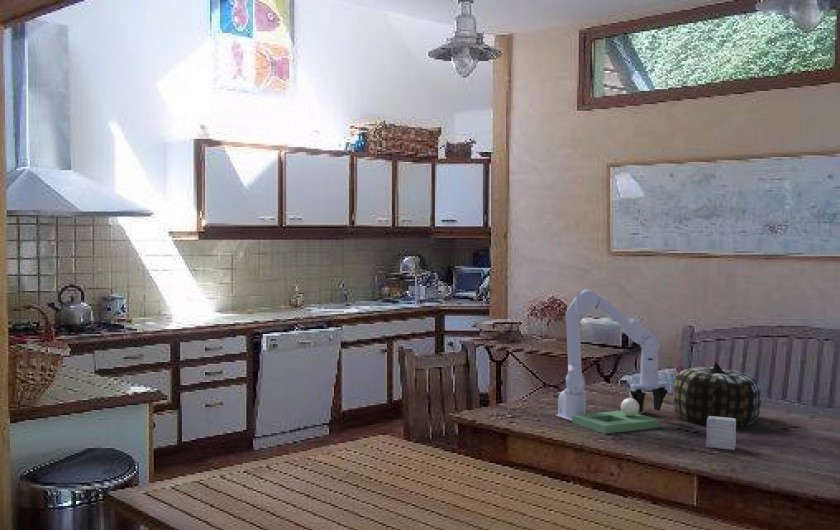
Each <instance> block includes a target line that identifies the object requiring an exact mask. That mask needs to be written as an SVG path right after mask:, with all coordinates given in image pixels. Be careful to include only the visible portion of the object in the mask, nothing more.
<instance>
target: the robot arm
mask: <svg viewBox="0 0 840 530" xmlns="http://www.w3.org/2000/svg"><path fill="white" fill-rule="evenodd" d="M593 309H595V310H597V311H601V312H602V311H603V312H605V313H606V314H607V315H608V316H609V317H611V318H612V319H613V320H615V321H616V322H617V323H618V324H619V325H621V326H622V327H621V328H622V332H623V333H624V334H625V335H627V337H629V338H630V339H631V340H632V341H633V343H634V342H635V344H637V345H639V346H640V348H641V356H640V375H639V376H640V379H639V382H638V383H632V384H629V392H630V393H631V395H632V397H633V399H635V400H636V401H637V402H638V404H639V411H638V412H640V413H639V414H642V413H641V412H642V411H643V401H644V397H645V398H646V392H645V391H647V390H649V391H650V390H651V391H652V397H653V410H654V411H658V412H660V411H661V409H662V403H663V401H664V399H665V397H666V395H667V394H668V382H665V381H659V350H660V348H661V343H660V341H659V339H658V338H657V337H656V336H655V334H653V333H652V331H651V330H650V329H649V330H648V329H647V328H646V327H644V326H643V325H642V324H641V323H642V322H641V321H640V320H639V319H637V320H636V319H635V318H628V317H626V315H624V314H623V313H622V312H621V311H620V310H619V309H618V308H617V307H615V305H614V304H613V303H611V302H610V301H609V300H608V299H606V298H605V297H604V296H602V295H600V294H598V293H596V292H595V291H594V290H593V289H591V288H585V289H582V290H581V291H580V292H579V293H577V294H576V295H575V297H574V298H573V300H572V302H571V303H570V305H569V306H568V308H567V310H566V312H565V321H566V342H567V343H566V344H567V349H566V350H567V370H568V371H567V374H566V376H565V386H566V388H564V390H562V391H560V393H559V395H558V402H557V403H558V405H557V413H556V414H555V416H556V417H558V418H562V419H565V420H568V421H570V422H572V415H581V414H586V407H587V406H586V402H587V391H586V390H585V387H586V380H585V376H584V375H583V373H582V372H583V370H582V351H581V350H582V348H581V345H582V344H581V323H580V320H581V319H580V318H581V317H583V315H585V314H586V313H587V312H589V311H591V310H593ZM641 390H643V391H644V392H645V393H644V392H642V391H641Z"/></svg>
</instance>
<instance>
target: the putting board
mask: <svg viewBox="0 0 840 530" xmlns="http://www.w3.org/2000/svg"><path fill="white" fill-rule="evenodd" d="M571 423H572V424H574V425H577V426H579V427H580V426H581V427H583V428H587V429H589V430H592V431H595V432H599V433H602V434H605V435H607V434H616V433H615V432H617V433H625V432H631V431H632V432H633V431H640V430H641V431H642V430H649V429H650V430H651V429H657V428H660V419H658V418H653V417H650V416H646V415H643V414H641V413H637V414H636V415H634V416H626V415H625V414H624V413H623V412H622V411H621V410H613V411H603V412H594V413H593V412H592V413H585V414H581V415H572V421H571Z"/></svg>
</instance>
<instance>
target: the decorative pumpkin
mask: <svg viewBox="0 0 840 530" xmlns="http://www.w3.org/2000/svg"><path fill="white" fill-rule="evenodd" d="M673 386H674V387H673V389H674V391H673V407H674V408H673V410H674V411H673V416H674V418H675V419H677V420H679V421H683V422H685V423H690V424H696V425H700V426H705V427H707V418H708V417H709V416H715V417H726V418H735V419H736V427H747V426H750V425H752V424H754V423H756V421H757V420H758V418H759V416H760V412H761V408H762V390H761V387H760V384H759V382H758V381H757V380H756V378H754V377H753V376H752V375H750V374H748V373H744V372H740V371H738V370H734V369H724V368H721V366H720V364H718V363H717V361H715V362H714V365H713V366H712V367H704V366H691V367H689V368H686V369H682V370H681V371H679V372H678V373H677V374H676V376H675V379H674V385H673Z"/></svg>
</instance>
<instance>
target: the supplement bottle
mask: <svg viewBox="0 0 840 530" xmlns="http://www.w3.org/2000/svg"><path fill="white" fill-rule="evenodd" d="M641 391H642V392H644V393H646V392H645V390H641ZM628 395H629V397H628V398H633V397H632V395H631V393H630V391H629V394H628ZM645 409H646V396H645V397H644V401H643V411H642V412H641V413H640V412H638V413H637V414H643V413H645V411H646V410H645Z"/></svg>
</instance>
